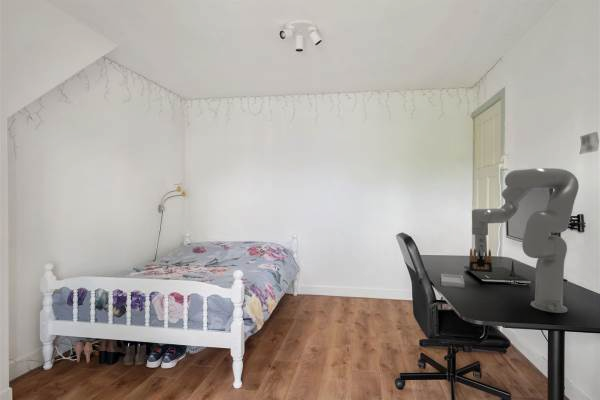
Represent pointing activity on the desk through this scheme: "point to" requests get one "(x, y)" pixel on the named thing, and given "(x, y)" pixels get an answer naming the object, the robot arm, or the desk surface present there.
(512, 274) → the eiffel tower figurine
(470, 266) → the ammunition clip
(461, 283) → the tray
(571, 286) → the desk surface
